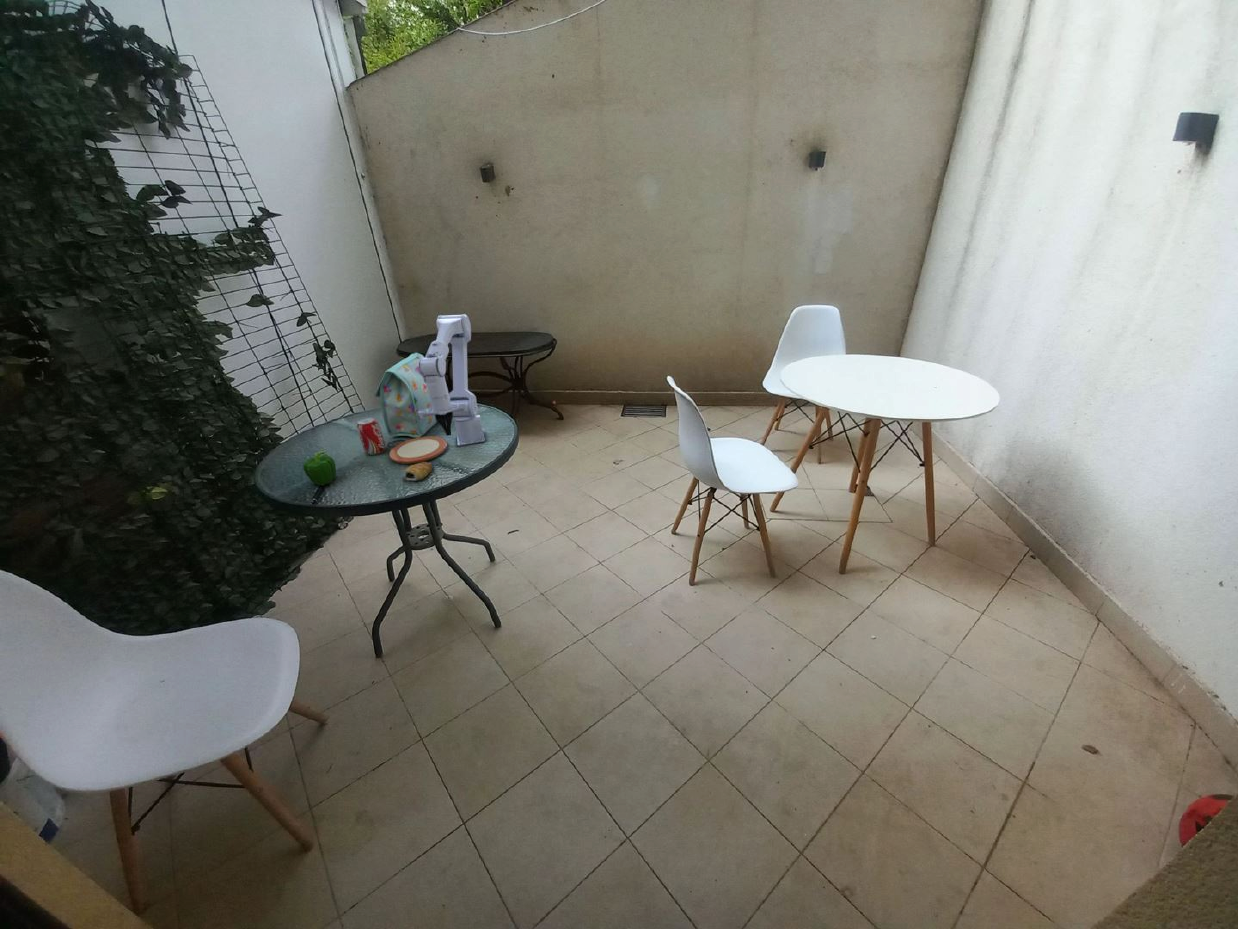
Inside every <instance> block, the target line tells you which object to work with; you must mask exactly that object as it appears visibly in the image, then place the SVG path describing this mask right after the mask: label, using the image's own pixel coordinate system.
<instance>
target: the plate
mask: <svg viewBox="0 0 1238 929" xmlns="http://www.w3.org/2000/svg"><path fill="white" fill-rule="evenodd" d="M447 448H448V442H447V440H446V439H444V438H442V437H440V436H439V437H438V436H421V437H420V438H415V437H414V438H411V439H408V440H406V441H402V442H401V443H399V444H397V445H396V446H394V447H393V448H392V449H391V450H390V451H389V458H390V460H391V461H392V462H394V463H398V464H403V465H404V464H406V465H408V464H417V463H422V462H427V461H429V460H432V459H434V458H436V457H438V456H439V455H441V454H443V453H444V452H445V451H446V450H447Z"/></svg>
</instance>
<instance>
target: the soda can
mask: <svg viewBox="0 0 1238 929" xmlns="http://www.w3.org/2000/svg"><path fill="white" fill-rule="evenodd" d="M356 424H357V425H356V430H357V434H358V436H359V437H358V438H359V439H360V443H361V445H362V448H363V450H364V452H365V454H367V455H371V456H375V455H378V454H381V453H383V452H384V451H385V450H386V448H387V446H386V442H385V439H384V436H383V432H382V429H381V426H380V424H379V422H378V421H377V420H376V418H375V417H371V416H370V417H369V416H368V417H363V418H360V419H359V420H357V421H356Z"/></svg>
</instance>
